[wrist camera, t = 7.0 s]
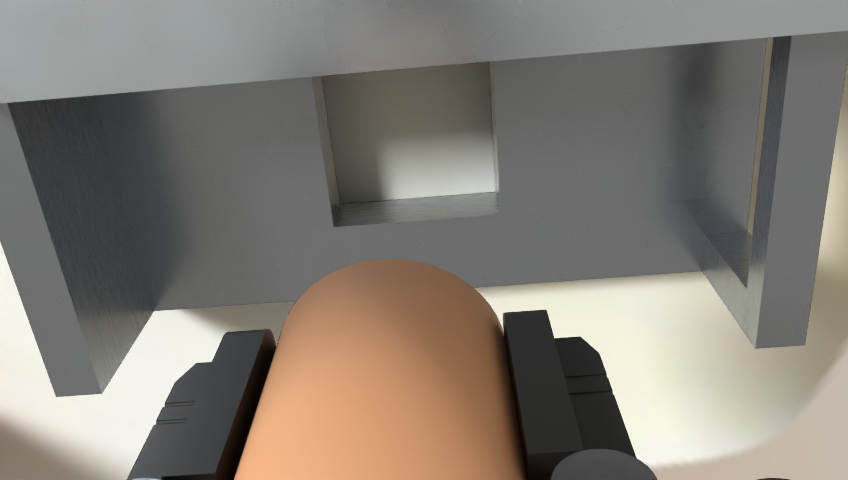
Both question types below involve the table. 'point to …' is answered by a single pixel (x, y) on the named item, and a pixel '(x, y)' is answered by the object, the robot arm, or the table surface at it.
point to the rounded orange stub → (387, 383)
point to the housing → (430, 216)
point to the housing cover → (347, 36)
